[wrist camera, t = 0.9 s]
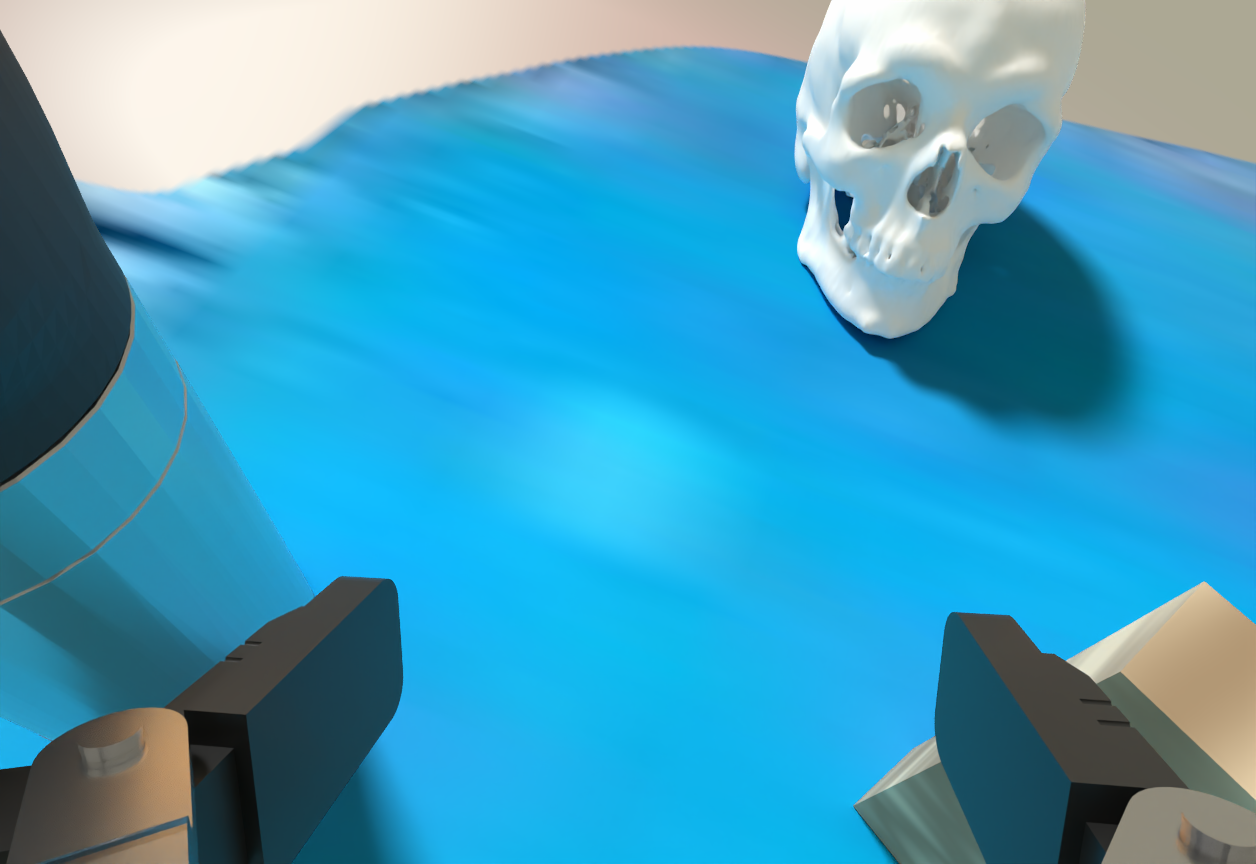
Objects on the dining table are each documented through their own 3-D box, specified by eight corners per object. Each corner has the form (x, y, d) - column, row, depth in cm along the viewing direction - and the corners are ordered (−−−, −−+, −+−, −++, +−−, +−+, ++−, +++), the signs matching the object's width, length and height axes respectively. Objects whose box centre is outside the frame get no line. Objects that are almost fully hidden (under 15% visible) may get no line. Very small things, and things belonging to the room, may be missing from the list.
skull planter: (750, 319, 40) (873, -113, 31) (751, 241, 58) (830, -48, 49) (1010, 381, 39) (1208, -43, 31) (930, 283, 57) (1041, -2, 48)
